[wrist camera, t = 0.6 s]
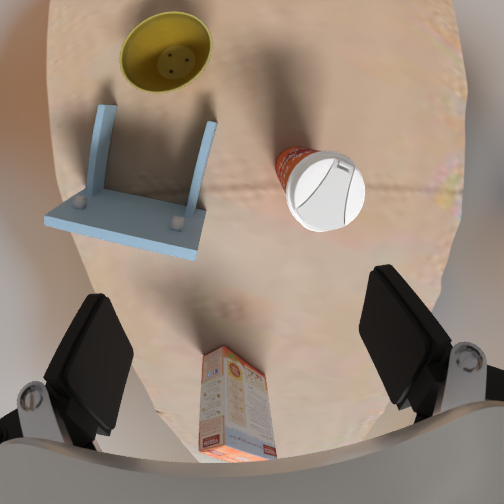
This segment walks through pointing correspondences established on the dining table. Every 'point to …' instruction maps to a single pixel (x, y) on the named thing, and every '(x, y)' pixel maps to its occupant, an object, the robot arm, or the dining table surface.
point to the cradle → (132, 204)
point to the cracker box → (234, 410)
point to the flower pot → (166, 52)
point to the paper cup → (321, 187)
